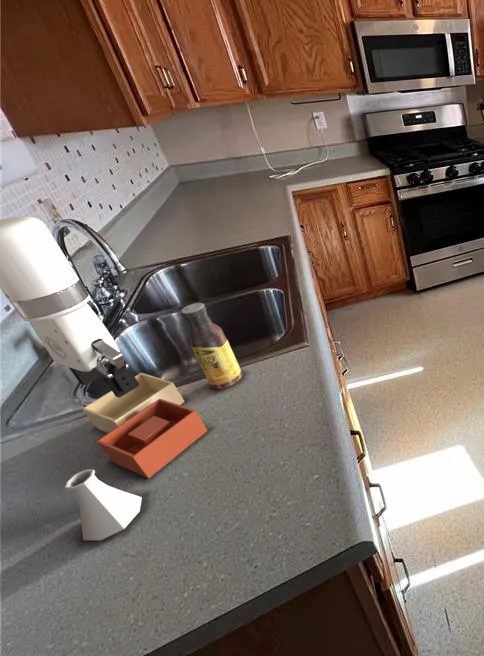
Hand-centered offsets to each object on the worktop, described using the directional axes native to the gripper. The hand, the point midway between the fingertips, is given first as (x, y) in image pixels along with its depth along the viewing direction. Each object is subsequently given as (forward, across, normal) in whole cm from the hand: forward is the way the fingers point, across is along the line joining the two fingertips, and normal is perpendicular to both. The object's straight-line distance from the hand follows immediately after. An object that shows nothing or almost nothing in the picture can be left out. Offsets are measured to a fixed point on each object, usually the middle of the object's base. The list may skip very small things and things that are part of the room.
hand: (110, 385), depth 70 cm
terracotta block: (+16, 0, +1) cm, 16 cm away
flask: (+16, +8, -11) cm, 21 cm away
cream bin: (+16, -13, +5) cm, 22 cm away
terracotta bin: (+16, 0, +1) cm, 16 cm away
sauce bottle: (+16, -4, +18) cm, 25 cm away
